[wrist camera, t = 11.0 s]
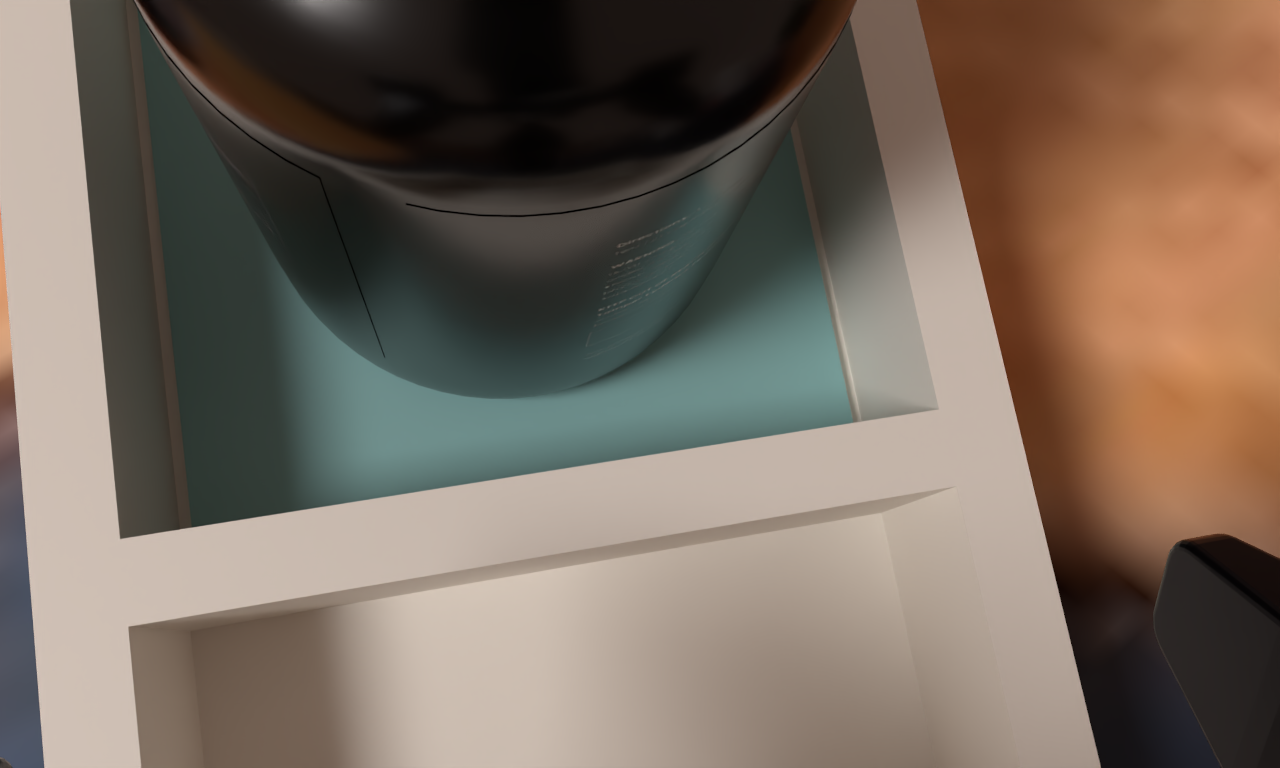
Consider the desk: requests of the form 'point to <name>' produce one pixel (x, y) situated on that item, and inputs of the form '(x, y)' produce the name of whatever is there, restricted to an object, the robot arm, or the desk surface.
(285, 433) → the tray
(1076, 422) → the desk surface
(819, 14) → the supplement bottle
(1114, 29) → the desk surface
